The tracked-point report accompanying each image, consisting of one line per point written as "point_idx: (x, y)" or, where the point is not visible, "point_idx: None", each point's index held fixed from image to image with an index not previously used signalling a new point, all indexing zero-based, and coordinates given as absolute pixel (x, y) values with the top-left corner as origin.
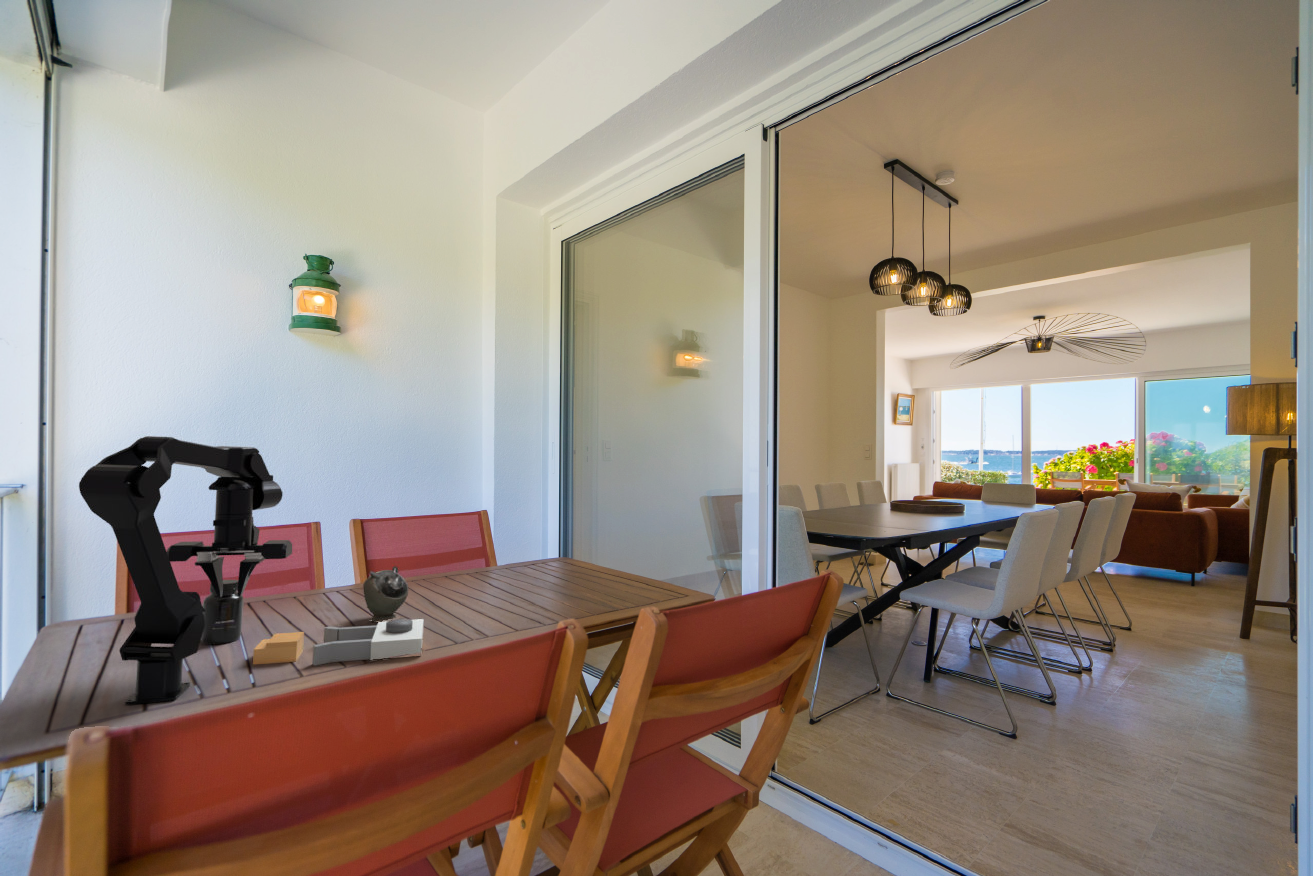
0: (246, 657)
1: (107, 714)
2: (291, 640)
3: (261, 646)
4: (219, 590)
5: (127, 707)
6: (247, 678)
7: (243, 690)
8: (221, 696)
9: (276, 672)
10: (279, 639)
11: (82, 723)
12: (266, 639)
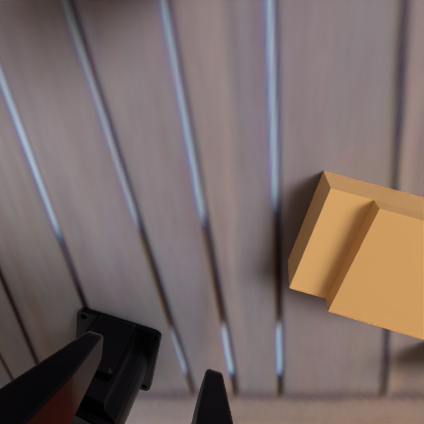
0: (275, 185)
1: None
2: (411, 323)
3: (315, 271)
4: (70, 421)
5: None
6: (269, 346)
7: (260, 399)
8: None
9: (334, 344)
10: (376, 293)
11: None
12: (343, 193)
